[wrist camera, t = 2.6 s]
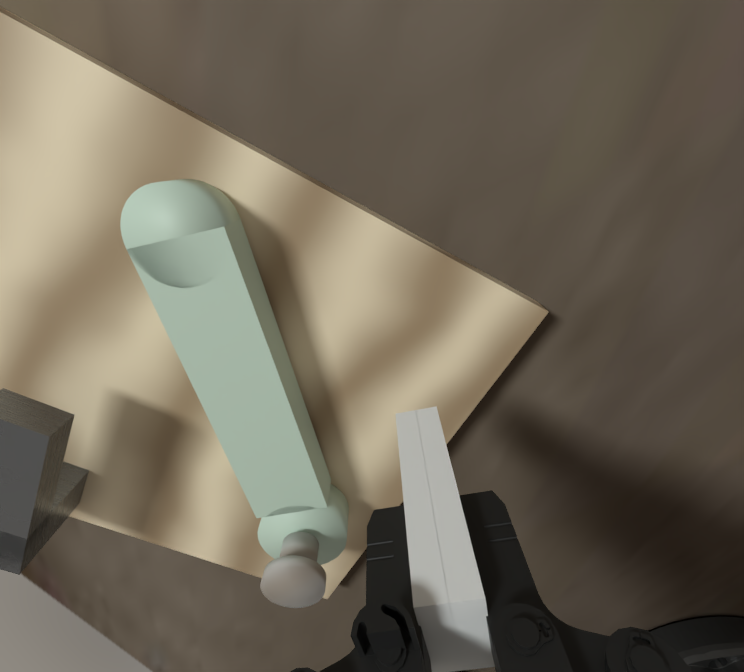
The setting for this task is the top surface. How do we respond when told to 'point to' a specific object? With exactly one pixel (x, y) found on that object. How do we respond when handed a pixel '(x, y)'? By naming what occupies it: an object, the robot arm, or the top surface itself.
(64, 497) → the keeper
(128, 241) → the link
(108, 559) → the top surface
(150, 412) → the base board
